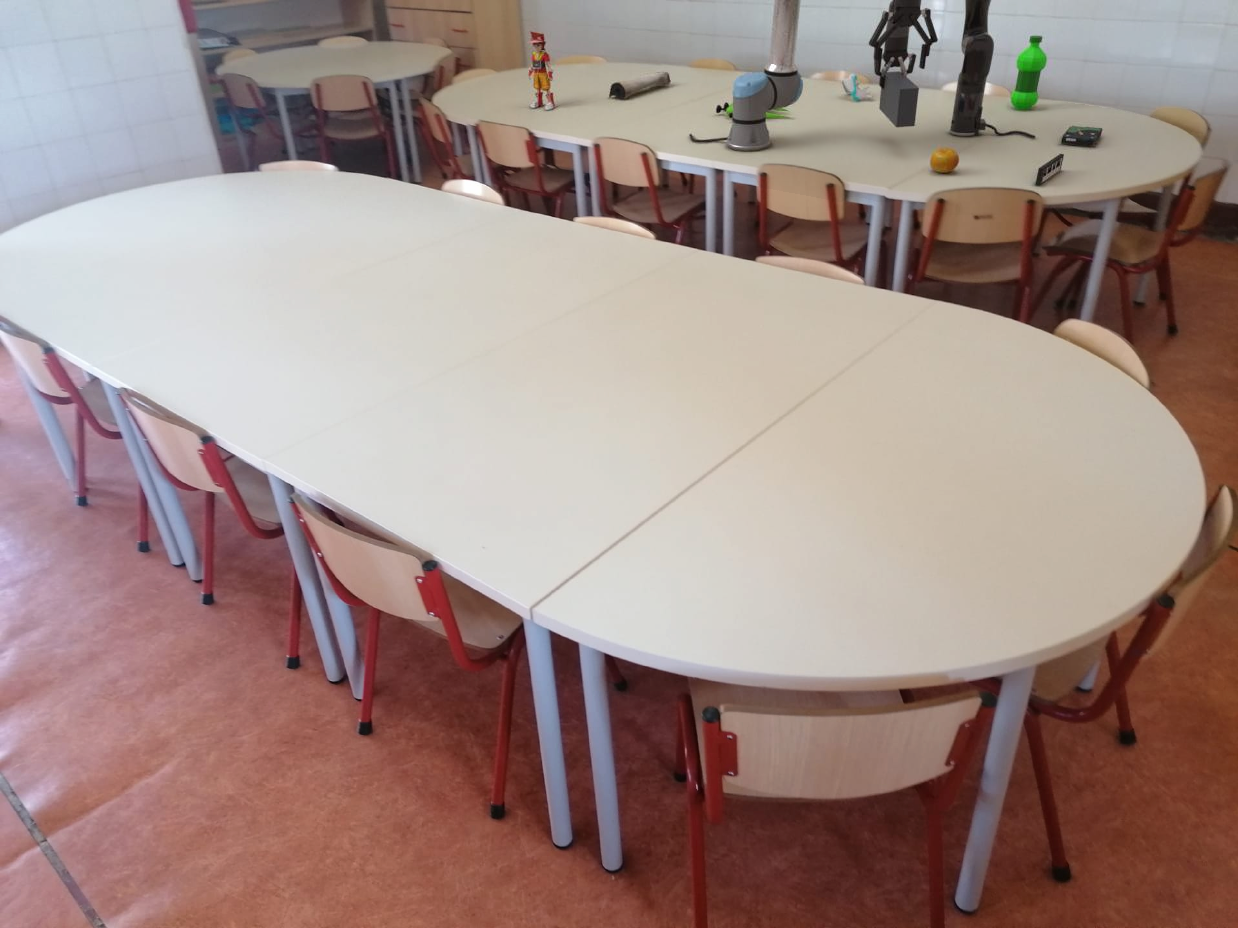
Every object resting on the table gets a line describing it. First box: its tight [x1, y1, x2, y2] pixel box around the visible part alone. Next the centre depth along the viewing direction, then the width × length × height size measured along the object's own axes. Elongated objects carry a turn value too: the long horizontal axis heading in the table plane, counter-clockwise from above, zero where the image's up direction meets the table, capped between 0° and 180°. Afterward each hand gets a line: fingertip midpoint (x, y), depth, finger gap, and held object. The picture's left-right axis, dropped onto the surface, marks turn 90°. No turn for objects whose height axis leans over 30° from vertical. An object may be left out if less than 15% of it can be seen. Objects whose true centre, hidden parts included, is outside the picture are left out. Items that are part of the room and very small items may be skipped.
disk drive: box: [1060, 125, 1103, 147], centre depth 304 cm, size 10×3×15 cm
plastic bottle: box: [1010, 35, 1048, 111], centre depth 335 cm, size 10×10×25 cm
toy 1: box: [527, 31, 556, 111], centre depth 374 cm, size 12×9×30 cm
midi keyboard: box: [1035, 153, 1065, 186], centre depth 273 cm, size 18×1×5 cm, turn 138°
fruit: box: [929, 147, 960, 174], centre depth 283 cm, size 8×8×8 cm
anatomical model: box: [841, 72, 874, 102], centre depth 366 cm, size 15×10×10 cm
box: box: [878, 70, 920, 128], centre depth 301 cm, size 25×6×12 cm, turn 179°
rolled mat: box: [608, 71, 672, 101], centre depth 395 cm, size 30×9×10 cm
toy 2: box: [715, 101, 793, 119], centre depth 353 cm, size 28×5×30 cm
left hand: (899, 70), depth 273 cm, fingers open, 13 cm apart
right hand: (892, 87), depth 308 cm, fingers closed on box, 6 cm apart
